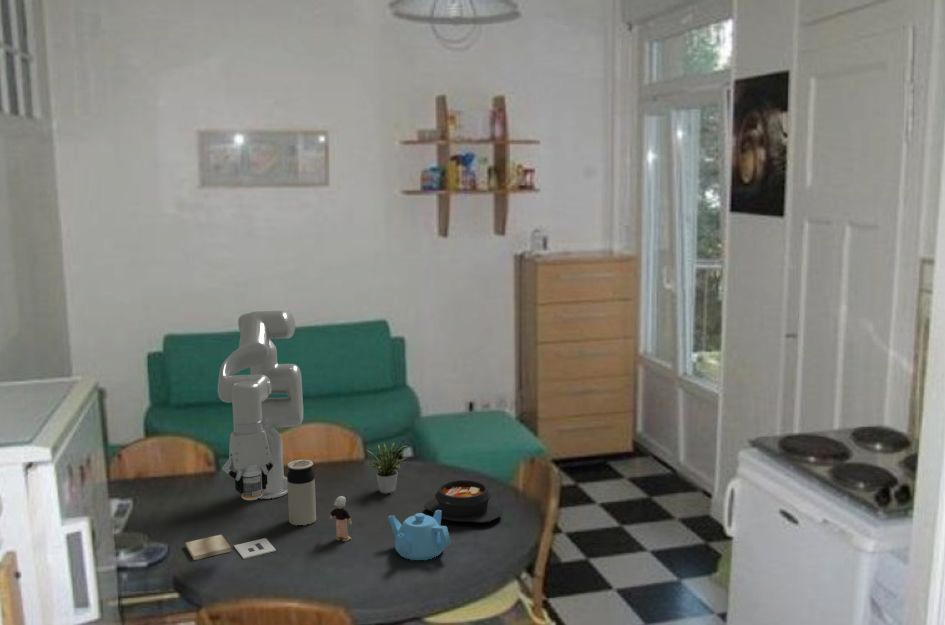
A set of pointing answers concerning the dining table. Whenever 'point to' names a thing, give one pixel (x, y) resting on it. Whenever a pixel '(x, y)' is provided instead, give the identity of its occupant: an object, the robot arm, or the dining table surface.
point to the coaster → (208, 547)
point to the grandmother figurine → (341, 518)
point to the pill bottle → (252, 483)
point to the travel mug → (301, 492)
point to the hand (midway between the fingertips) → (251, 489)
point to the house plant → (387, 468)
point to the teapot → (420, 536)
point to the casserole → (464, 502)
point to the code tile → (254, 548)
